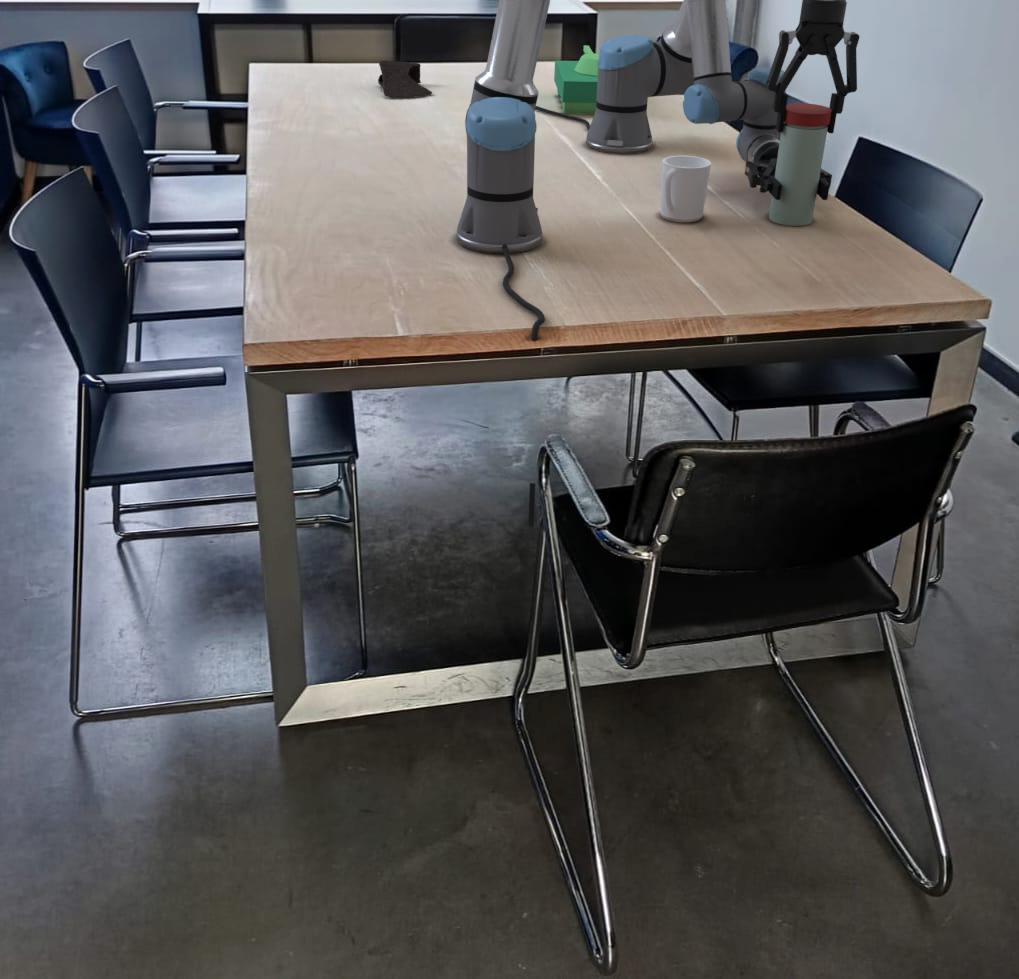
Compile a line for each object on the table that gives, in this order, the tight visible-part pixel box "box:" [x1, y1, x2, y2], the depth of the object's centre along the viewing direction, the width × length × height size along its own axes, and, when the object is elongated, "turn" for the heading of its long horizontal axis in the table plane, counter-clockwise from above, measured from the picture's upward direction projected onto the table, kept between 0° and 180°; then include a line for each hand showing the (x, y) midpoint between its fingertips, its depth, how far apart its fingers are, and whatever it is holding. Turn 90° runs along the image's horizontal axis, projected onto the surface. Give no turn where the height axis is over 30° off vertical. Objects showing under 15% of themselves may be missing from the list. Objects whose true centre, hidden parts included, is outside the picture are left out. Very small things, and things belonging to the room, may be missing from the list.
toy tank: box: [553, 44, 600, 115], centre depth 290 cm, size 18×12×35 cm
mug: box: [659, 155, 712, 223], centre depth 206 cm, size 11×9×10 cm
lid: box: [784, 102, 832, 127], centre depth 200 cm, size 9×9×2 cm
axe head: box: [377, 59, 433, 99], centre depth 299 cm, size 18×8×15 cm
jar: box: [768, 122, 828, 227], centre depth 205 cm, size 8×8×20 cm
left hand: (804, 130), depth 201 cm, fingers closed on lid, 9 cm apart
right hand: (802, 192), depth 202 cm, fingers closed on jar, 8 cm apart
